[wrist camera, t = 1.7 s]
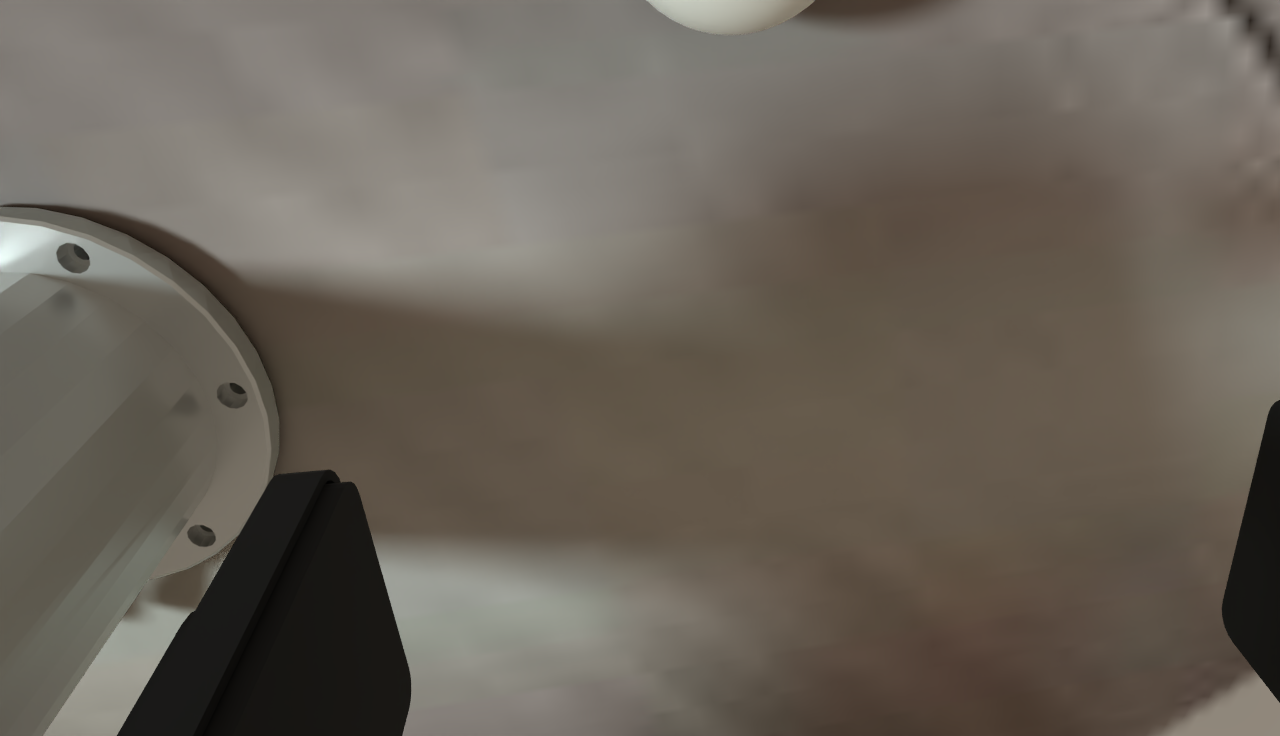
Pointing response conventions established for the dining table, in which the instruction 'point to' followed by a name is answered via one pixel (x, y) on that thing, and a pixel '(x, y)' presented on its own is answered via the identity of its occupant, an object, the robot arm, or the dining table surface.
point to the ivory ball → (730, 14)
